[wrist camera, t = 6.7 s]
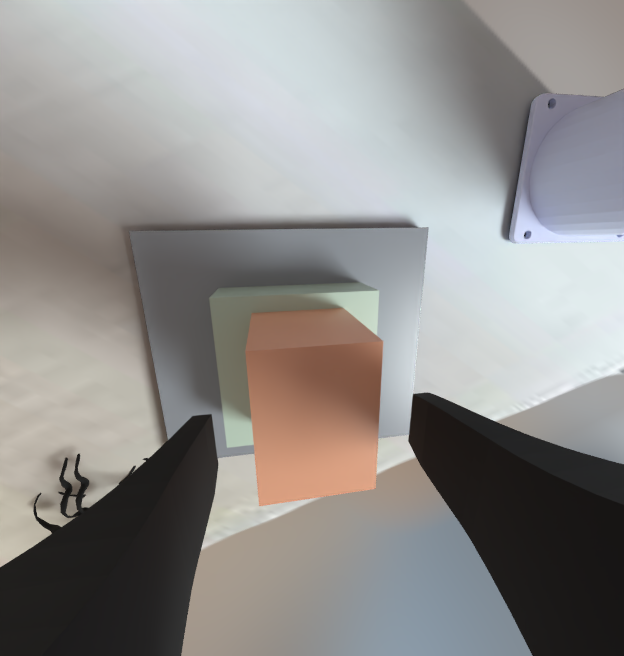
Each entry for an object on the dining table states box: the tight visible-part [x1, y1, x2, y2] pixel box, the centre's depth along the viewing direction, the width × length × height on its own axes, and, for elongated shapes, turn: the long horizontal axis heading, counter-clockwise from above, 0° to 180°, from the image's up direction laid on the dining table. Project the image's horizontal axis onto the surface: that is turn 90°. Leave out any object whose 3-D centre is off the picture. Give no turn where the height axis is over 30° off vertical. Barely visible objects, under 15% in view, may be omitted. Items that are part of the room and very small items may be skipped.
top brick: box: [245, 308, 383, 506], centre depth 12 cm, size 4×6×5 cm
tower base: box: [129, 227, 428, 458], centre depth 17 cm, size 16×14×4 cm
